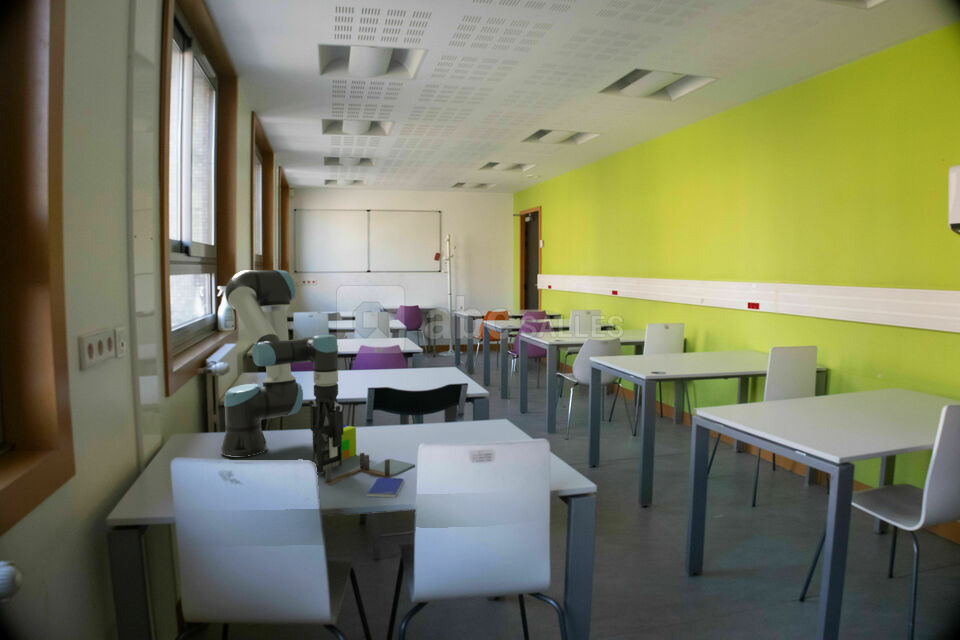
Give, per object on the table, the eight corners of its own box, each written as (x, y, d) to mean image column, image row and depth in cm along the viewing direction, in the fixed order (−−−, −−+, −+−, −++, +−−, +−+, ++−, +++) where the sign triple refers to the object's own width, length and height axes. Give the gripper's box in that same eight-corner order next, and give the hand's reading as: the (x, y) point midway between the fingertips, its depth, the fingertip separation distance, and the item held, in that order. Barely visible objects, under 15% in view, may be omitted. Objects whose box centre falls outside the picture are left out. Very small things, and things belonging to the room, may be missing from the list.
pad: (367, 469, 188) (367, 468, 187) (389, 460, 197) (389, 458, 197) (393, 476, 182) (393, 474, 182) (415, 465, 191) (415, 464, 191)
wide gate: (324, 484, 175) (324, 466, 175) (361, 468, 189) (361, 452, 188) (329, 485, 174) (328, 468, 174) (366, 469, 188) (366, 453, 187)
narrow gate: (387, 478, 180) (386, 461, 179) (362, 472, 185) (362, 455, 185) (391, 476, 182) (391, 459, 181) (367, 470, 187) (366, 454, 186)
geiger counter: (336, 461, 191) (335, 417, 190) (345, 464, 189) (344, 419, 187) (309, 470, 183) (308, 424, 182) (318, 473, 180) (317, 427, 179)
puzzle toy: (335, 450, 207) (334, 423, 207) (356, 455, 202) (355, 427, 201) (314, 458, 199) (313, 429, 198) (335, 463, 194) (334, 434, 193)
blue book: (395, 493, 165) (403, 478, 177) (366, 493, 166) (377, 477, 178) (395, 499, 165) (403, 483, 177) (367, 498, 166) (377, 482, 178)
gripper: (297, 382, 185) (298, 453, 187) (337, 389, 175) (338, 463, 178) (315, 378, 191) (316, 446, 193) (355, 384, 182) (356, 456, 184)
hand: (327, 454), depth 185 cm, fingers closed on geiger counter, 5 cm apart
